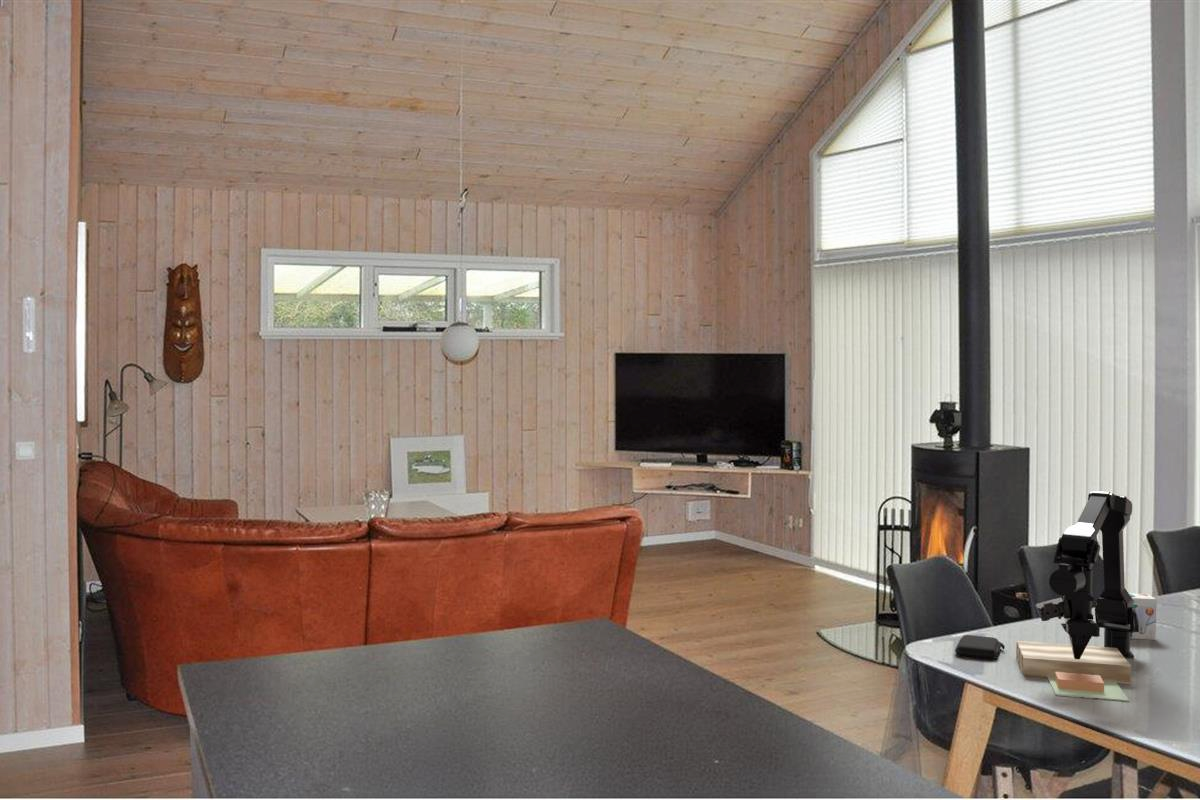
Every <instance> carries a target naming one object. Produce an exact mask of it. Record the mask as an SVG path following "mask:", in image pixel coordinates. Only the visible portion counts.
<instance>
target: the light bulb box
mask: <svg viewBox="0 0 1200 800" xmlns="http://www.w3.org/2000/svg"><path fill="white" fill-rule="evenodd" d="M1128 593H1129V595H1130V596H1131V597H1132V599H1133V608H1135V610H1136V613H1137V616H1138V619H1139V632H1134V633H1131V632H1130V639H1134V640H1136V639H1137V640H1156V637H1157V636H1156V635H1157V634H1156V631H1157V601H1158V600H1157V598H1155V597H1153V596H1152V595H1151V594H1149V593H1132V592H1131V593H1130V592H1128ZM1129 626H1130V624H1129Z"/></svg>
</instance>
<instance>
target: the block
mask: <svg viewBox="0 0 1200 800" xmlns="http://www.w3.org/2000/svg"><path fill="white" fill-rule="evenodd" d="M1055 682H1056V684H1057V687H1058V688H1060V689H1072V690H1083V691H1094V692H1104V682H1103V680H1102V678H1101V677H1100V675H1088V674H1077V673H1065V672H1055Z"/></svg>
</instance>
